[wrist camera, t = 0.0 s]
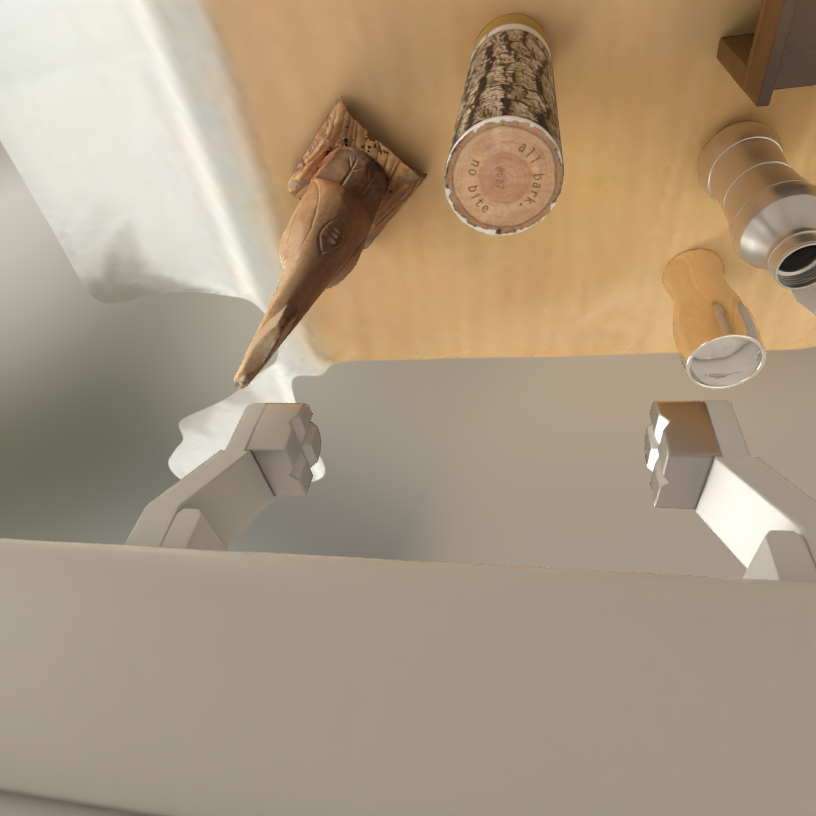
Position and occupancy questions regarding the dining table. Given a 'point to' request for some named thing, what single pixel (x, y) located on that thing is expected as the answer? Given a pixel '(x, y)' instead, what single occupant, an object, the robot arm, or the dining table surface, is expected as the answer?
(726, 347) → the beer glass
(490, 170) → the wooden log
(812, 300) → the paper bag
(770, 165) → the silver metal bottle
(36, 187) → the dining table surface
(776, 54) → the bench
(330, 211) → the bird sculpture
